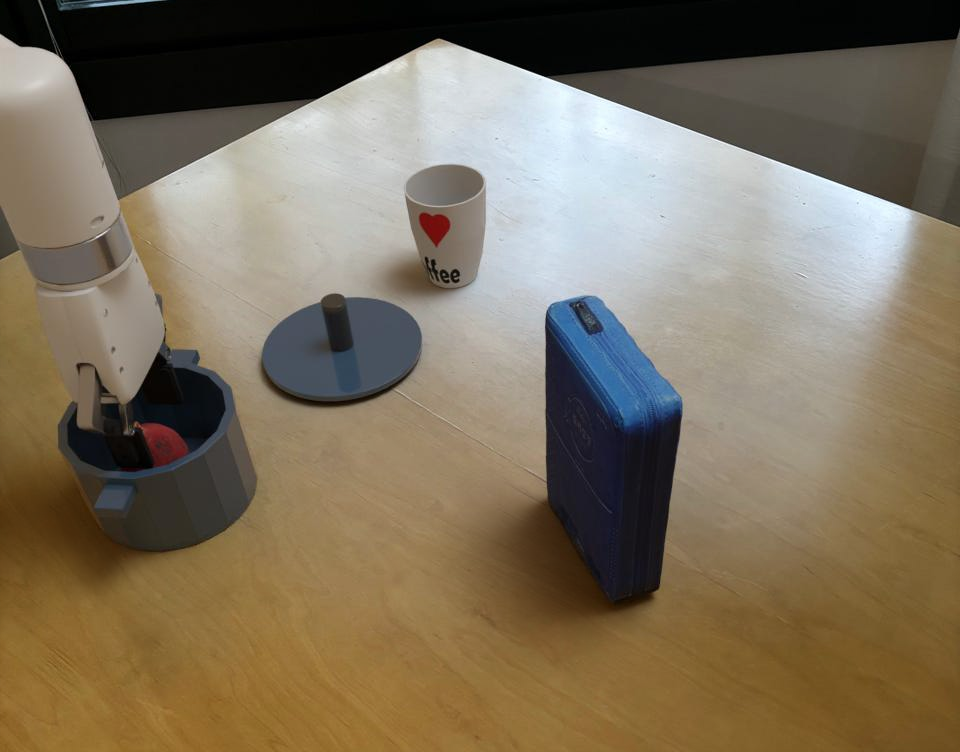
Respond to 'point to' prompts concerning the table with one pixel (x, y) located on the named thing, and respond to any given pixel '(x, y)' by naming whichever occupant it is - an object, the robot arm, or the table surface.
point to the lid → (342, 348)
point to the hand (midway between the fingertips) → (151, 432)
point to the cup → (448, 221)
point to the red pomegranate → (161, 445)
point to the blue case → (608, 446)
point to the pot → (168, 466)
